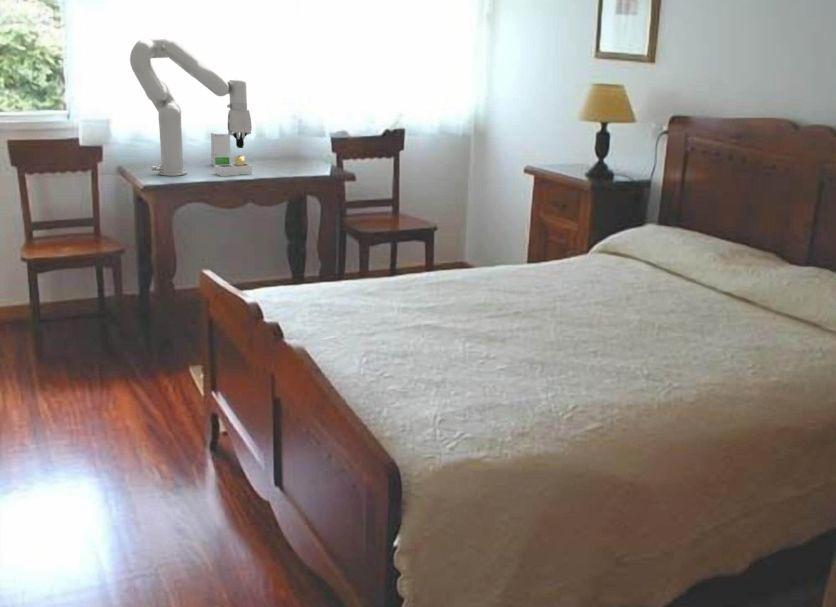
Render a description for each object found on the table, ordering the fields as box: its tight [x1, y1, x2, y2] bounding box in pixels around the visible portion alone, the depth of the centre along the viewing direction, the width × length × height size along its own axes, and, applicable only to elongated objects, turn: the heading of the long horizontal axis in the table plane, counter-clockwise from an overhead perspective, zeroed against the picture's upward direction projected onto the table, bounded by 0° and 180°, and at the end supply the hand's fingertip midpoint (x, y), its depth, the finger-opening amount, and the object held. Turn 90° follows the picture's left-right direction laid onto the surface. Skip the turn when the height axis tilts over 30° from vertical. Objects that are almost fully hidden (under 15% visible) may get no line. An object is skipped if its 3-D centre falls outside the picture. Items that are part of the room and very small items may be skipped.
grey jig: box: [213, 163, 253, 177], centre depth 426 cm, size 15×8×4 cm, turn 124°
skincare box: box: [210, 132, 231, 167], centre depth 449 cm, size 8×7×16 cm
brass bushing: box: [234, 155, 246, 166], centre depth 428 cm, size 4×4×8 cm
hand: (240, 147), depth 425 cm, fingers closed
